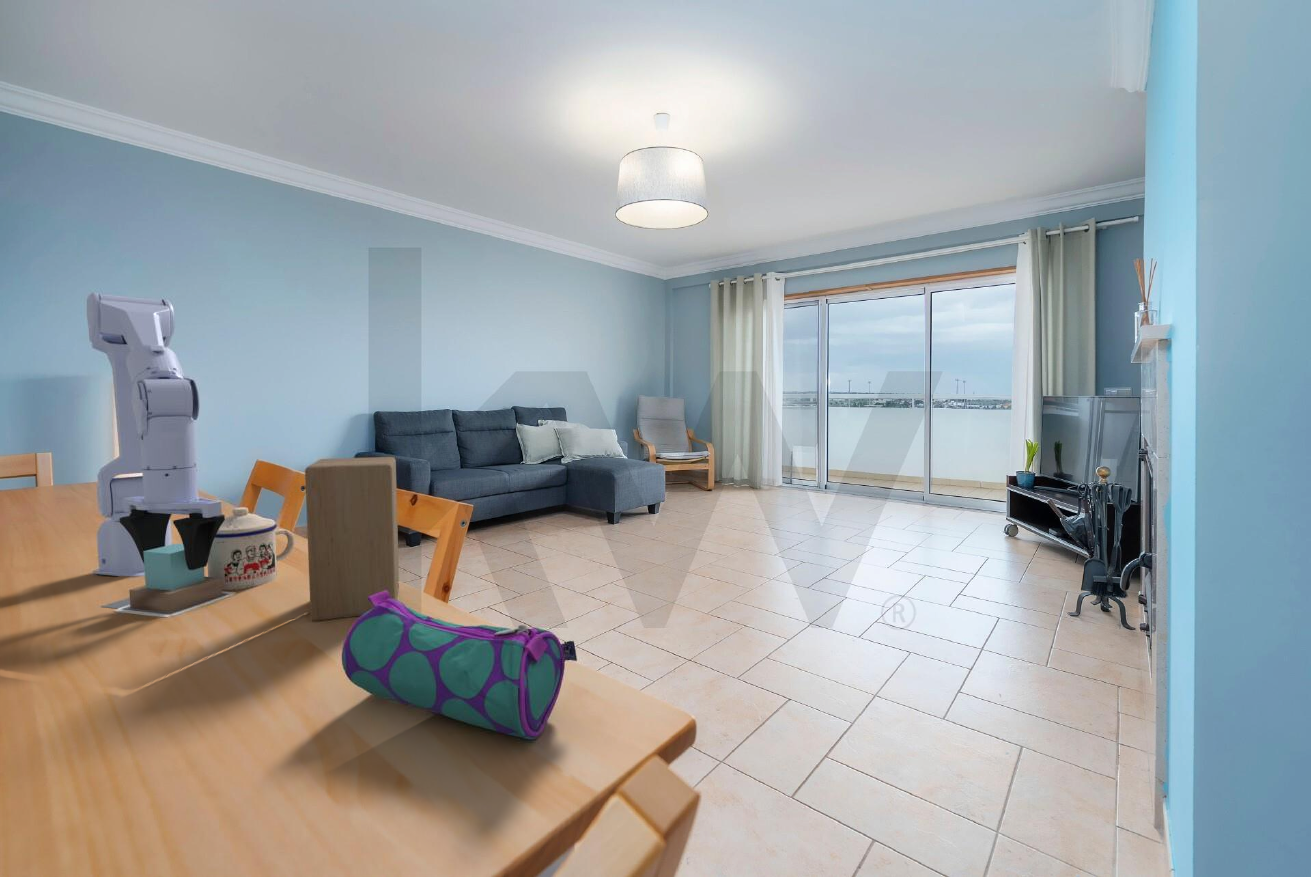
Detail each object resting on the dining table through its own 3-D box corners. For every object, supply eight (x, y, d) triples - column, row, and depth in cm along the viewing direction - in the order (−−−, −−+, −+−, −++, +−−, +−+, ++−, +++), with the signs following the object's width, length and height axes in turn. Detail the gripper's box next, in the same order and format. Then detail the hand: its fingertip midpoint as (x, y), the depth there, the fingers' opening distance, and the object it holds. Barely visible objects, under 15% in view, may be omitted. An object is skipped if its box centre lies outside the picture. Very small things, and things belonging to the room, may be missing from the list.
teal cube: (145, 587, 80) (143, 551, 79) (179, 577, 84) (177, 543, 84) (172, 590, 79) (169, 553, 78) (204, 580, 83) (203, 545, 83)
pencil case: (578, 709, 55) (577, 609, 55) (523, 764, 47) (521, 647, 47) (407, 669, 63) (404, 581, 63) (334, 710, 55) (330, 609, 54)
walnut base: (130, 608, 79) (129, 589, 79) (183, 591, 86) (182, 574, 86) (171, 612, 77) (170, 594, 77) (221, 595, 84) (221, 578, 84)
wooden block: (323, 597, 85) (318, 458, 83) (399, 589, 88) (395, 456, 87) (310, 622, 76) (304, 467, 74) (395, 612, 79) (391, 464, 78)
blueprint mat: (93, 611, 79) (93, 608, 79) (168, 588, 88) (167, 585, 88) (169, 620, 76) (169, 617, 76) (237, 595, 85) (237, 592, 85)
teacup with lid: (223, 597, 85) (219, 516, 84) (195, 586, 89) (191, 509, 89) (309, 575, 95) (306, 503, 94) (280, 566, 100) (277, 498, 99)
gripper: (95, 469, 78) (102, 570, 79) (182, 473, 75) (188, 578, 76) (152, 463, 85) (157, 556, 86) (234, 466, 82) (238, 563, 83)
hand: (175, 565), depth 81 cm, fingers open, 7 cm apart
